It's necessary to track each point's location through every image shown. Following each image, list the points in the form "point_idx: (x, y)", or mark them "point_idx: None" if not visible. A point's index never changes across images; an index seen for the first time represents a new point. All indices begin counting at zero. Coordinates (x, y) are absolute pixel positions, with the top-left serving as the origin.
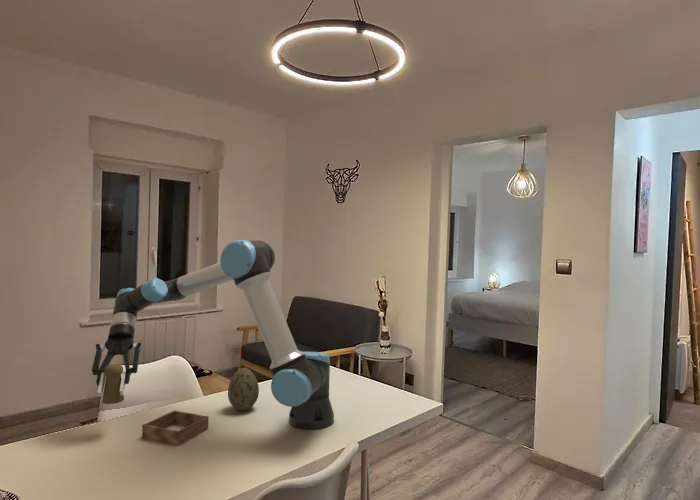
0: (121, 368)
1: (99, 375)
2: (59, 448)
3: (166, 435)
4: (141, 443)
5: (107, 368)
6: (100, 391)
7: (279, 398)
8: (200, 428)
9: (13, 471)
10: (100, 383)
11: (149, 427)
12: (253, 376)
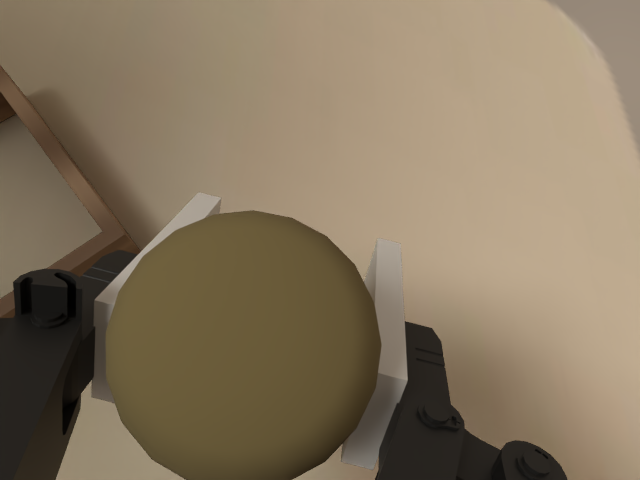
0: (139, 261)
1: (424, 390)
2: (499, 318)
3: (45, 125)
4: (160, 198)
5: (343, 260)
6: (378, 240)
7: None
8: None
9: (621, 170)
10: (392, 288)
11: (97, 197)
12: None
